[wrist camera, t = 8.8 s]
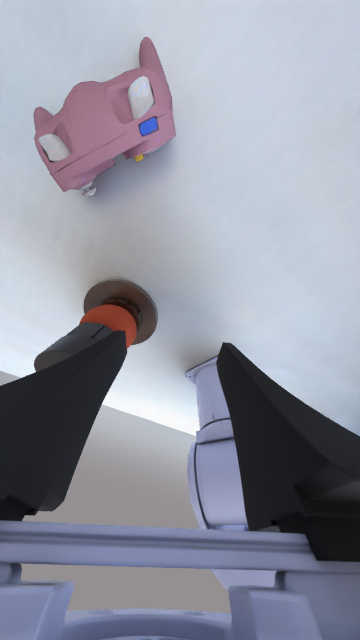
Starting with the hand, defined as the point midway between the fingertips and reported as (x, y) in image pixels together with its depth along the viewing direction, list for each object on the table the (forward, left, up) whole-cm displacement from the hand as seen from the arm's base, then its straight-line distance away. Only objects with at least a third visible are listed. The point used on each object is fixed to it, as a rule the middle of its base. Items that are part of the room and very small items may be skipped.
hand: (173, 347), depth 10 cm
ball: (+3, +7, -5) cm, 10 cm away
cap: (+3, +7, -3) cm, 9 cm away
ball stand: (+3, +7, -9) cm, 12 cm away
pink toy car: (+14, -5, -10) cm, 18 cm away
